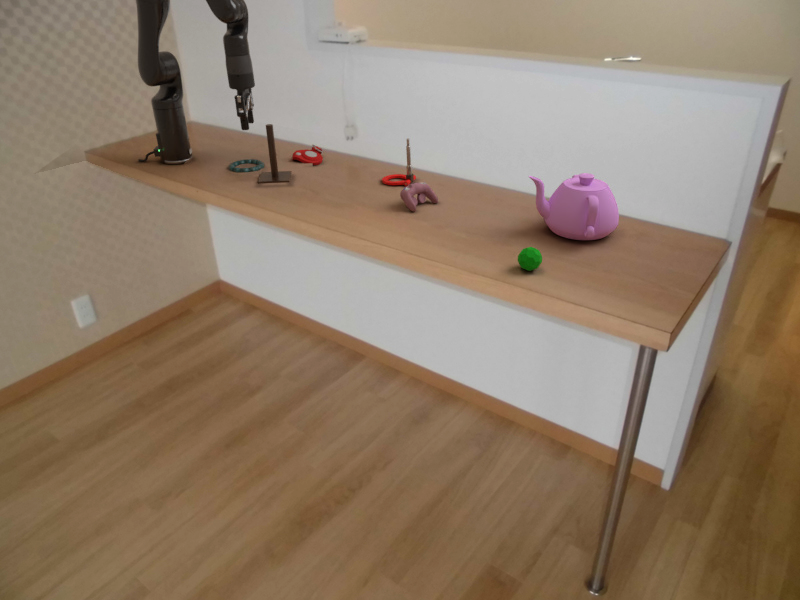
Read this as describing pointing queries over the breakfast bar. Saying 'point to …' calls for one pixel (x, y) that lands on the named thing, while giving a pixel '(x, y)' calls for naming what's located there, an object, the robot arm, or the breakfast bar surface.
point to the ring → (259, 163)
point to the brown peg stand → (273, 162)
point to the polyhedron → (530, 258)
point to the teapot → (579, 208)
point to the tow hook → (408, 178)
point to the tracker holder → (309, 155)
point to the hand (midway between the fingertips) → (248, 126)
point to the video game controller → (421, 191)
